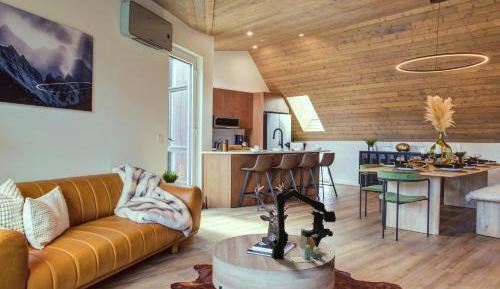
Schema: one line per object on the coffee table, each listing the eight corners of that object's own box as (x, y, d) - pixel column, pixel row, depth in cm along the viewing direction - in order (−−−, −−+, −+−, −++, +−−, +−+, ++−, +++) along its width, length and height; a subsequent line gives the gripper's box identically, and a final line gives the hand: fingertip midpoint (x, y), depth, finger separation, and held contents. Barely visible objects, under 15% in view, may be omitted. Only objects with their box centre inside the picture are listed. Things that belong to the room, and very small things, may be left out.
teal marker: (306, 260, 214) (306, 246, 214) (303, 257, 218) (304, 244, 218) (311, 259, 216) (312, 246, 215) (308, 257, 219) (309, 244, 219)
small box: (306, 250, 235) (307, 230, 234) (299, 247, 240) (300, 228, 240) (315, 248, 239) (316, 229, 239) (308, 246, 244) (309, 226, 244)
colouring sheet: (295, 262, 210) (295, 262, 210) (289, 258, 218) (289, 257, 218) (315, 261, 214) (315, 260, 214) (309, 257, 222) (309, 256, 222)
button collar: (314, 259, 218) (314, 255, 218) (310, 256, 223) (310, 252, 223) (321, 258, 220) (322, 254, 220) (317, 255, 224) (318, 252, 224)
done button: (315, 256, 219) (315, 249, 219) (312, 254, 222) (312, 247, 222) (320, 256, 220) (320, 248, 220) (317, 254, 224) (317, 247, 223)
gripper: (310, 225, 210) (308, 252, 211) (338, 224, 216) (336, 250, 216) (302, 221, 221) (300, 246, 221) (329, 220, 227) (327, 245, 227)
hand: (316, 247), depth 221 cm, fingers closed
